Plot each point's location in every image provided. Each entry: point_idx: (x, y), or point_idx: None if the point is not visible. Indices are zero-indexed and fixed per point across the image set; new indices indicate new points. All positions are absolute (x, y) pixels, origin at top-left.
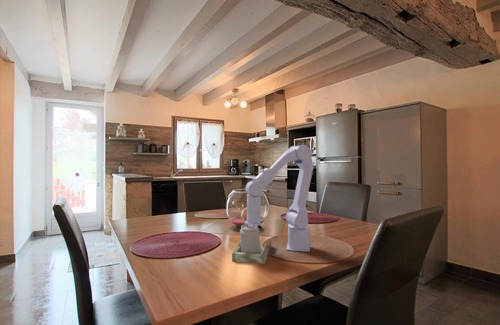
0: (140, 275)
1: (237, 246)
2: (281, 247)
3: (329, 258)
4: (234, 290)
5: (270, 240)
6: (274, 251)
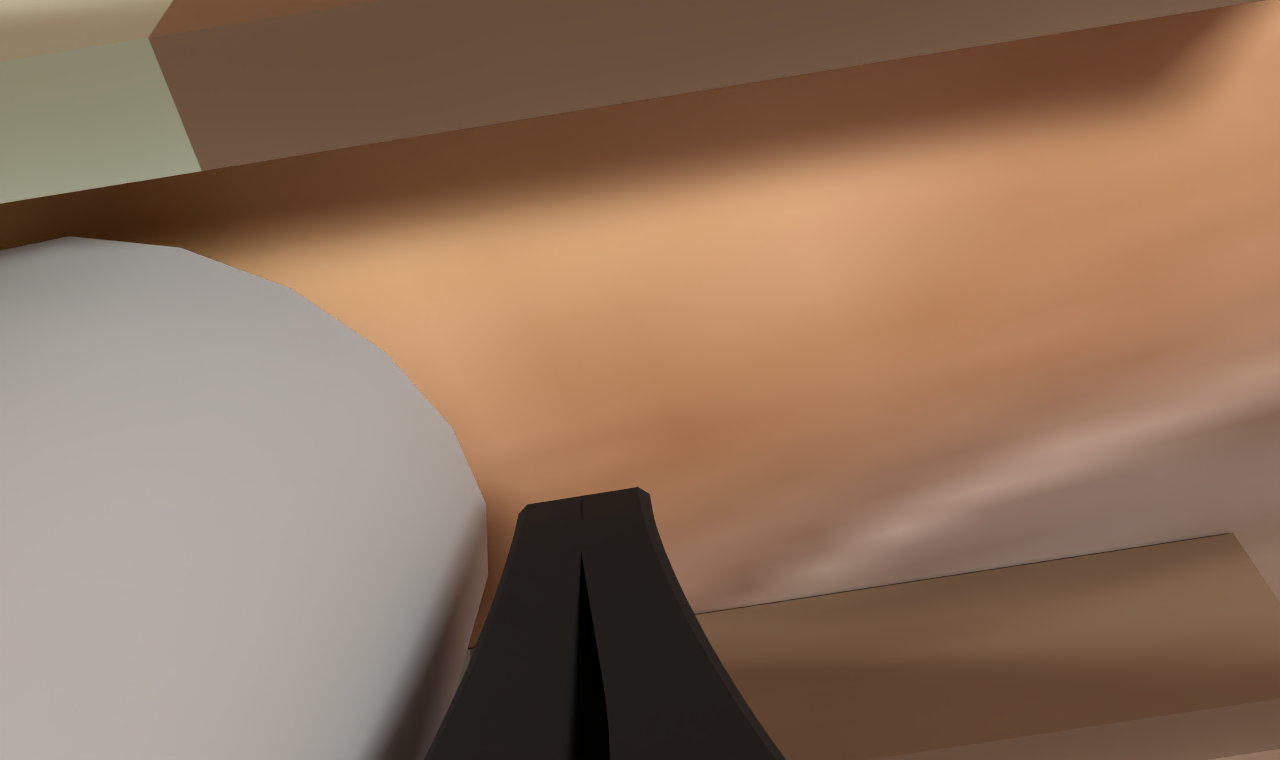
0: None
1: (141, 56)
2: None
3: None
4: None
5: (1238, 744)
6: None
